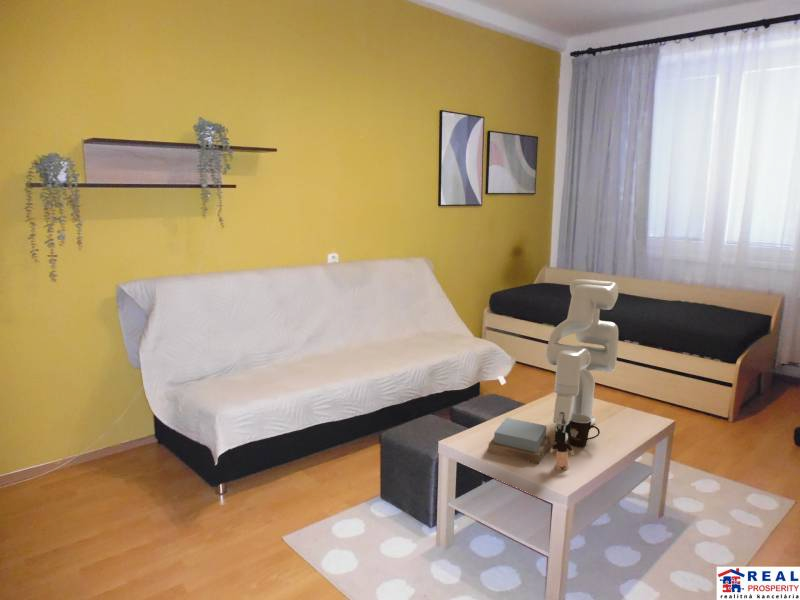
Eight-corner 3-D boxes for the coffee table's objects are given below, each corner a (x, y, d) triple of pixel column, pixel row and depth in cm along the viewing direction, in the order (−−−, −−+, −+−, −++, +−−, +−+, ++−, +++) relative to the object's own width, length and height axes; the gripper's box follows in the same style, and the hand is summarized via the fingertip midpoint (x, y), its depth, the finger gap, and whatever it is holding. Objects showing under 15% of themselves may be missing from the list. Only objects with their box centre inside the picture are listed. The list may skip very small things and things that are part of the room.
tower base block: (502, 435, 213) (503, 425, 212) (549, 445, 205) (550, 435, 204) (488, 454, 197) (488, 443, 196) (538, 466, 189) (539, 455, 188)
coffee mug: (560, 440, 208) (562, 415, 206) (579, 437, 211) (581, 412, 209) (580, 453, 197) (582, 427, 195) (599, 450, 200) (602, 424, 198)
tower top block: (505, 427, 210) (506, 417, 209) (545, 435, 204) (546, 425, 203) (493, 442, 197) (494, 432, 196) (536, 452, 190) (536, 441, 190)
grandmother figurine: (569, 464, 189) (572, 430, 186) (573, 470, 185) (576, 434, 183) (547, 464, 188) (549, 430, 186) (550, 470, 185) (553, 434, 182)
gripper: (560, 379, 191) (556, 426, 194) (549, 393, 175) (545, 444, 178) (582, 383, 187) (578, 430, 190) (573, 398, 172) (569, 449, 175)
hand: (562, 437), depth 184 cm, fingers open, 9 cm apart
